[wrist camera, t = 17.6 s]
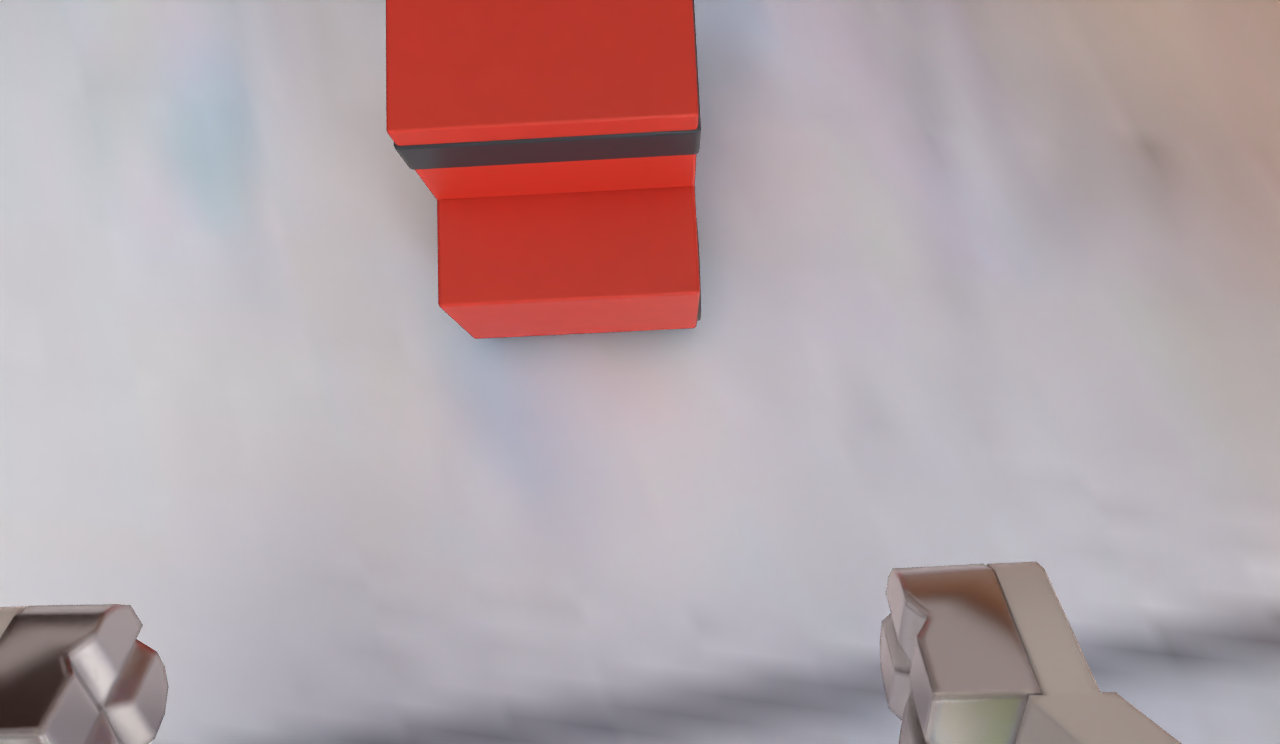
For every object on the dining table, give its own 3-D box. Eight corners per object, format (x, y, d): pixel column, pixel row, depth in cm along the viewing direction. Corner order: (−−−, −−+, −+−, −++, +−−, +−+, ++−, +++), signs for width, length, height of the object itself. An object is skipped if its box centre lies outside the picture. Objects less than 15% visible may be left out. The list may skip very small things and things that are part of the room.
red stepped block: (473, 31, 25) (378, -201, 17) (682, 19, 25) (686, -220, 17) (479, 349, 23) (379, 260, 16) (699, 338, 23) (712, 243, 15)
